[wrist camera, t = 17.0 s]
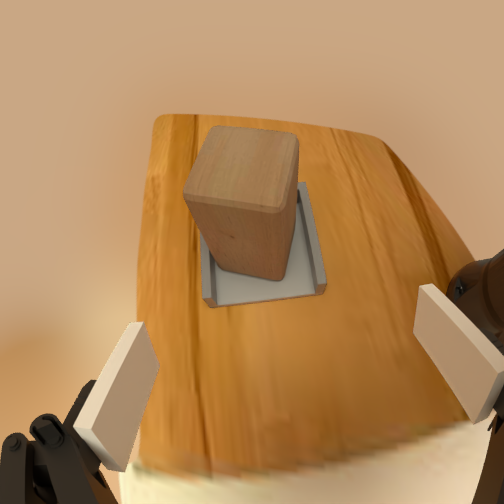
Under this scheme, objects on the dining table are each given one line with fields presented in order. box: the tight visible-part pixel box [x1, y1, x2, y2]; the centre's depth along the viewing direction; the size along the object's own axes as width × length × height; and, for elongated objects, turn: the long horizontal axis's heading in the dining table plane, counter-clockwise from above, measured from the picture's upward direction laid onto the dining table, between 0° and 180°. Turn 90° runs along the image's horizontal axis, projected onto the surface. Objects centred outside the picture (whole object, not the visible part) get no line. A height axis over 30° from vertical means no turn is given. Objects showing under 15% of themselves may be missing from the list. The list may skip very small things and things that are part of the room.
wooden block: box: [183, 126, 299, 281], centre depth 38 cm, size 10×10×20 cm
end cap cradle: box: [200, 182, 327, 308], centre depth 46 cm, size 16×16×5 cm
